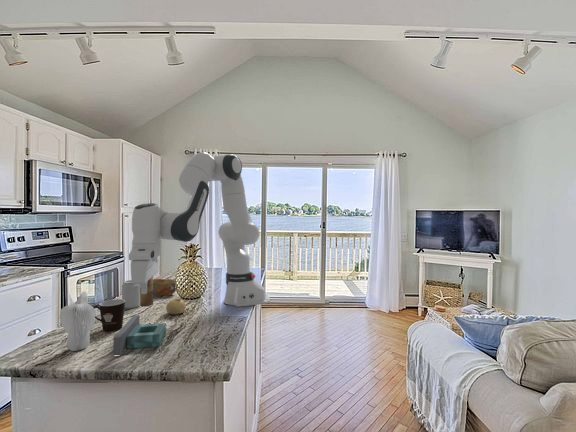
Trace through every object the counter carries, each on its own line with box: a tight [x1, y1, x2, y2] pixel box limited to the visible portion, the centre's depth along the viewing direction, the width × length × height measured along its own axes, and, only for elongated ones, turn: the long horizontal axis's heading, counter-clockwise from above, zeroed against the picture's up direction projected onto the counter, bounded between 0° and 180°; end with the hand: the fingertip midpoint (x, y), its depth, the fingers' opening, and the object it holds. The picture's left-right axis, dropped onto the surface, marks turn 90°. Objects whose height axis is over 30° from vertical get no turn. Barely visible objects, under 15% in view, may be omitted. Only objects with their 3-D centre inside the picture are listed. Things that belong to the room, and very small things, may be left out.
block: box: [126, 322, 167, 349], centre depth 106 cm, size 10×10×4 cm
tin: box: [153, 278, 177, 296], centre depth 164 cm, size 15×3×8 cm, turn 77°
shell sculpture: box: [59, 290, 97, 352], centre depth 101 cm, size 8×8×18 cm
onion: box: [165, 297, 187, 316], centre depth 135 cm, size 8×8×7 cm
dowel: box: [139, 275, 154, 308], centre depth 106 cm, size 4×4×10 cm
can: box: [121, 279, 140, 310], centre depth 143 cm, size 8×8×12 cm
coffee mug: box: [92, 298, 125, 333], centre depth 118 cm, size 12×9×10 cm
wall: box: [112, 314, 140, 356], centre depth 105 cm, size 2×20×6 cm, turn 10°
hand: (146, 291), depth 106 cm, fingers closed on dowel, 4 cm apart
